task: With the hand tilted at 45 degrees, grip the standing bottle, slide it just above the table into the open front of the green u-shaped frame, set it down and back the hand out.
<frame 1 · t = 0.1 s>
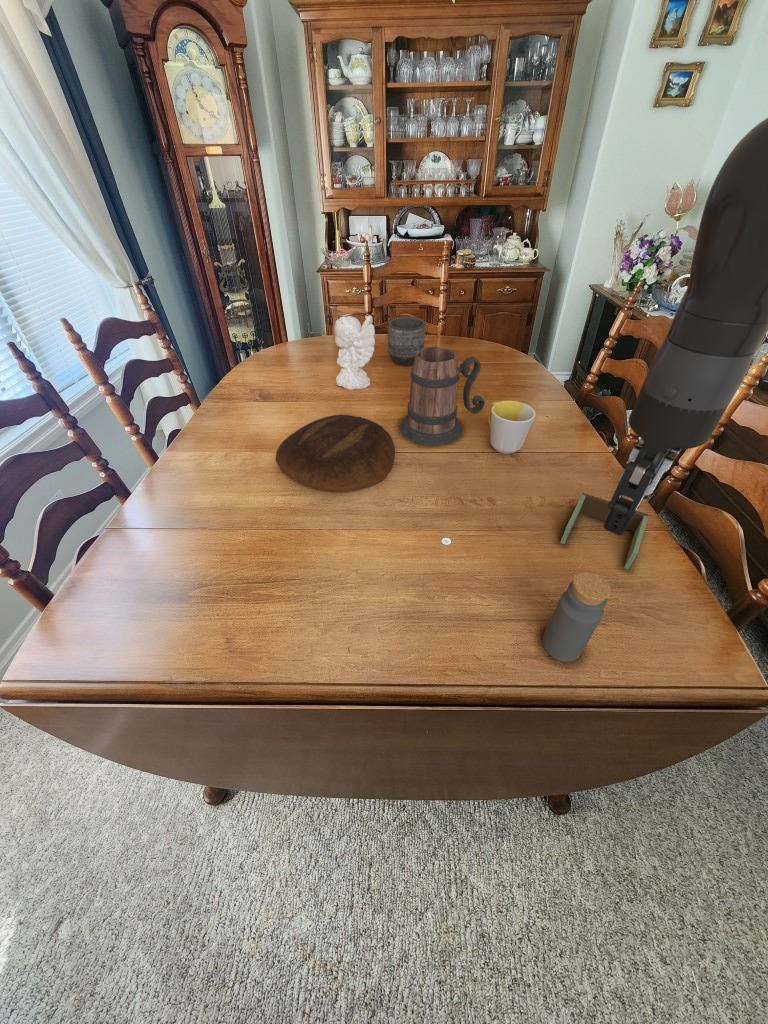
hand: (625, 512, 52), 25 cm above the table, tool pointing down, fingers open, 8 cm apart
bread: (338, 461, 104), on the table
green u-shaped frame: (600, 538, 84), on the table
mug: (502, 444, 109), on the table
bottle: (561, 645, 67), on the table
planter: (405, 361, 148), on the table
cherub figurine: (355, 381, 137), on the table
tankard: (441, 426, 116), on the table
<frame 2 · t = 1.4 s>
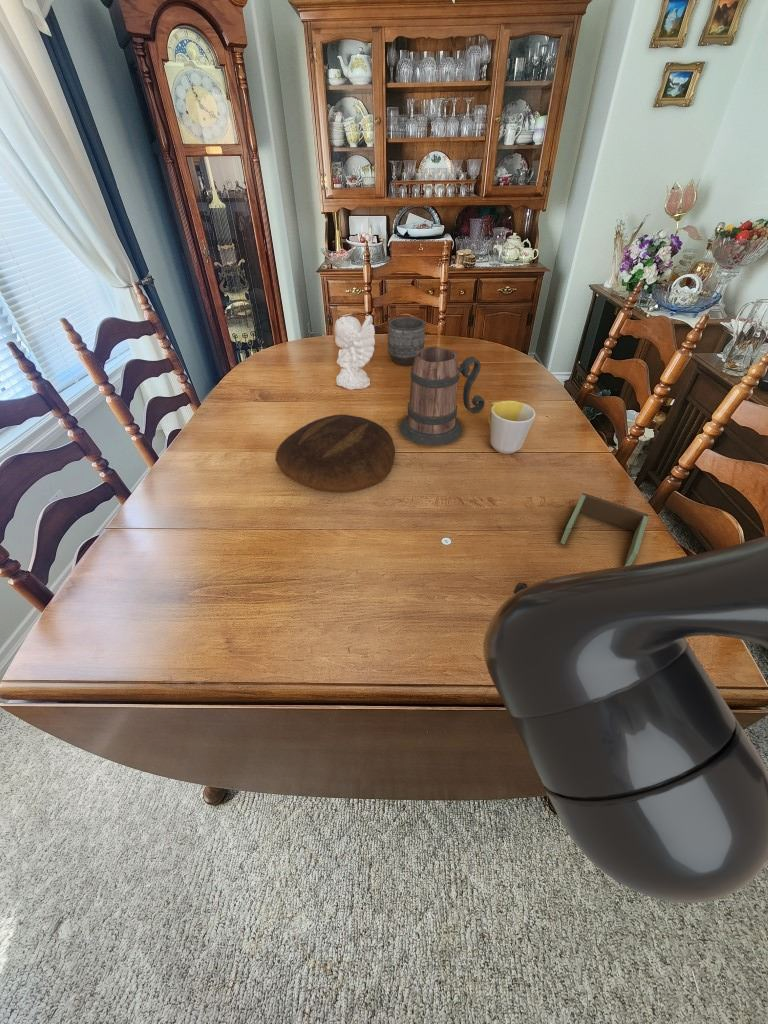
hand: (583, 620, 46), 21 cm above the table, tool tilted 45°, fingers open, 8 cm apart
nothing on the table moved.
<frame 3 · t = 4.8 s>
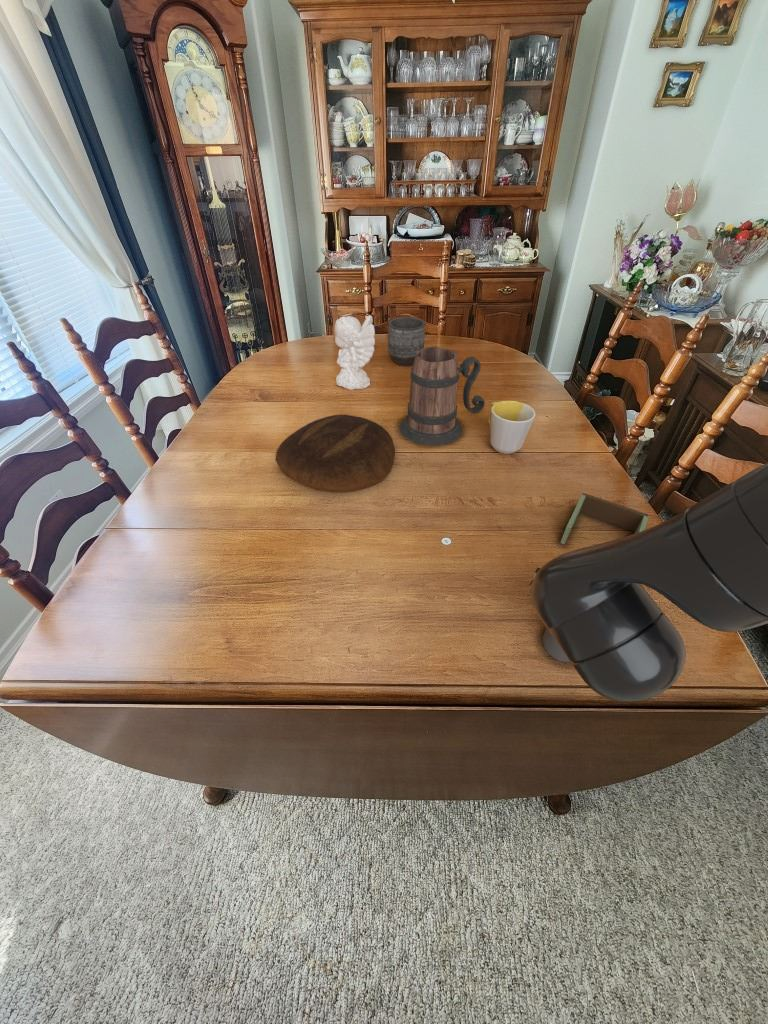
hand: (585, 595, 61), 11 cm above the table, tool tilted 45°, fingers closed on bottle, 5 cm apart
bottle: (561, 645, 67), on the table, touching gripper
everything else where it was.
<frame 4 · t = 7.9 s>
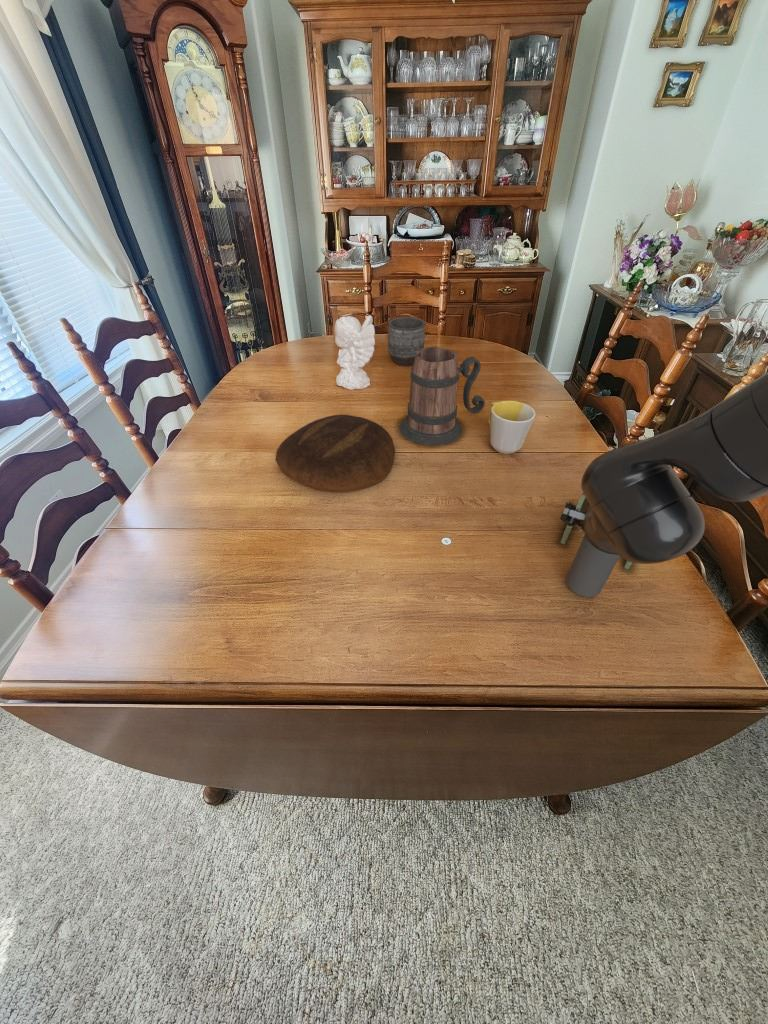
hand: (606, 533, 68), 12 cm above the table, tool tilted 45°, fingers closed on bottle, 5 cm apart
bottle: (583, 584, 74), point 1 cm above the table, touching gripper
everything else where it was.
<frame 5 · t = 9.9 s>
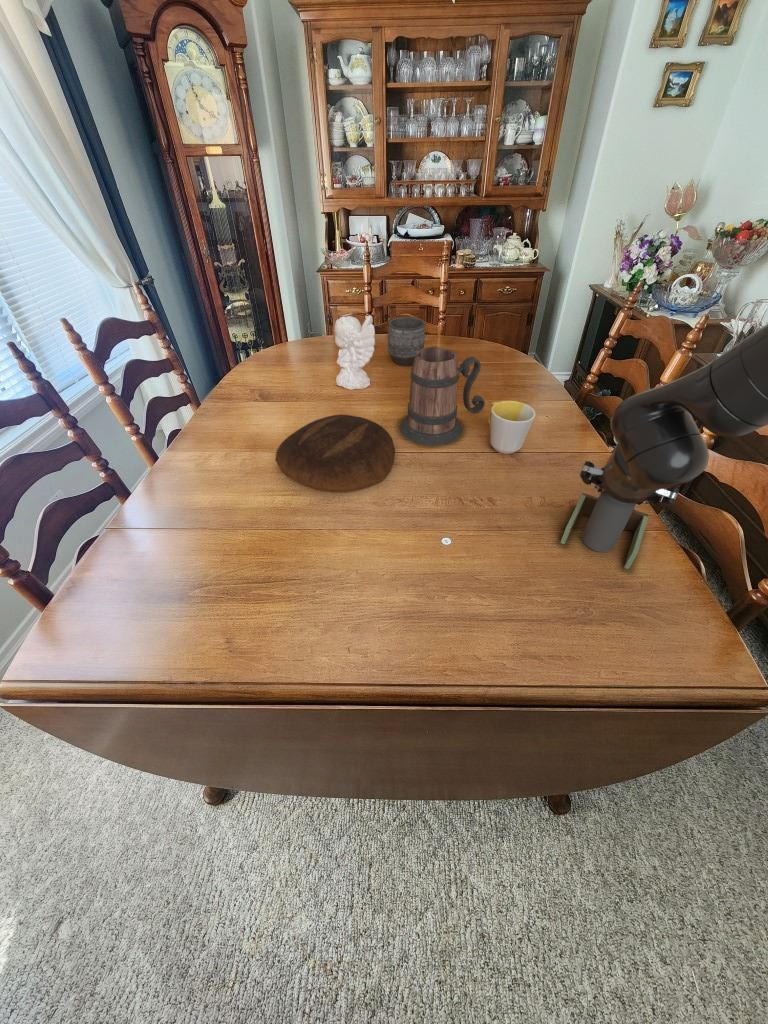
hand: (620, 492, 75), 12 cm above the table, tool tilted 45°, fingers closed on bottle, 5 cm apart
bottle: (597, 541, 82), point 1 cm above the table, touching gripper
everything else where it was.
when the fingers open (11 cm above the table, at t = 11.1 s): bottle stays where it is, on the table.
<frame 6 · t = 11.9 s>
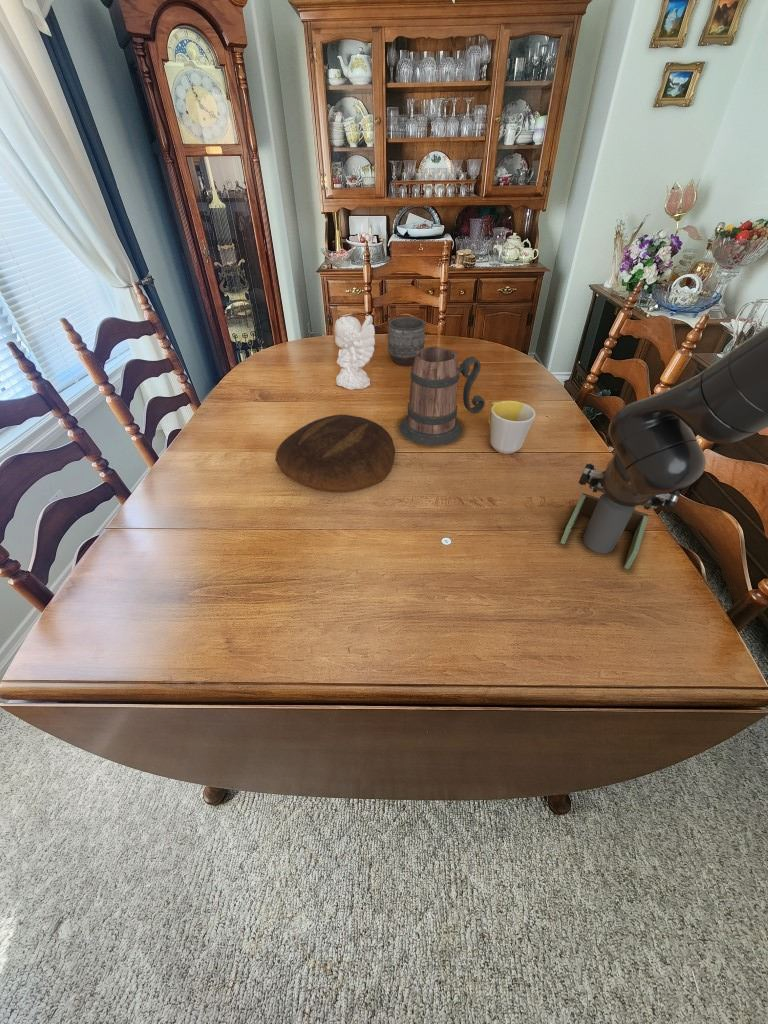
hand: (621, 495, 76), 11 cm above the table, tool tilted 45°, fingers open, 8 cm apart
bottle: (598, 543, 83), on the table
everything else where it was.
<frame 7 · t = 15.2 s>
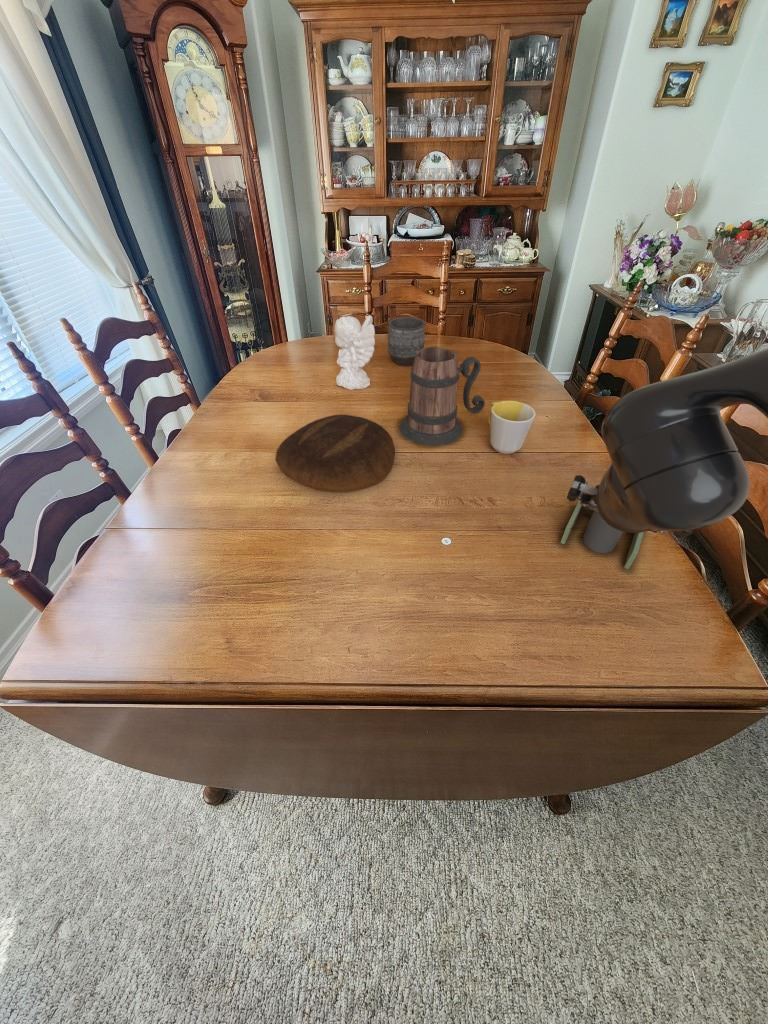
hand: (621, 513, 60), 20 cm above the table, tool tilted 45°, fingers open, 8 cm apart
nothing on the table moved.
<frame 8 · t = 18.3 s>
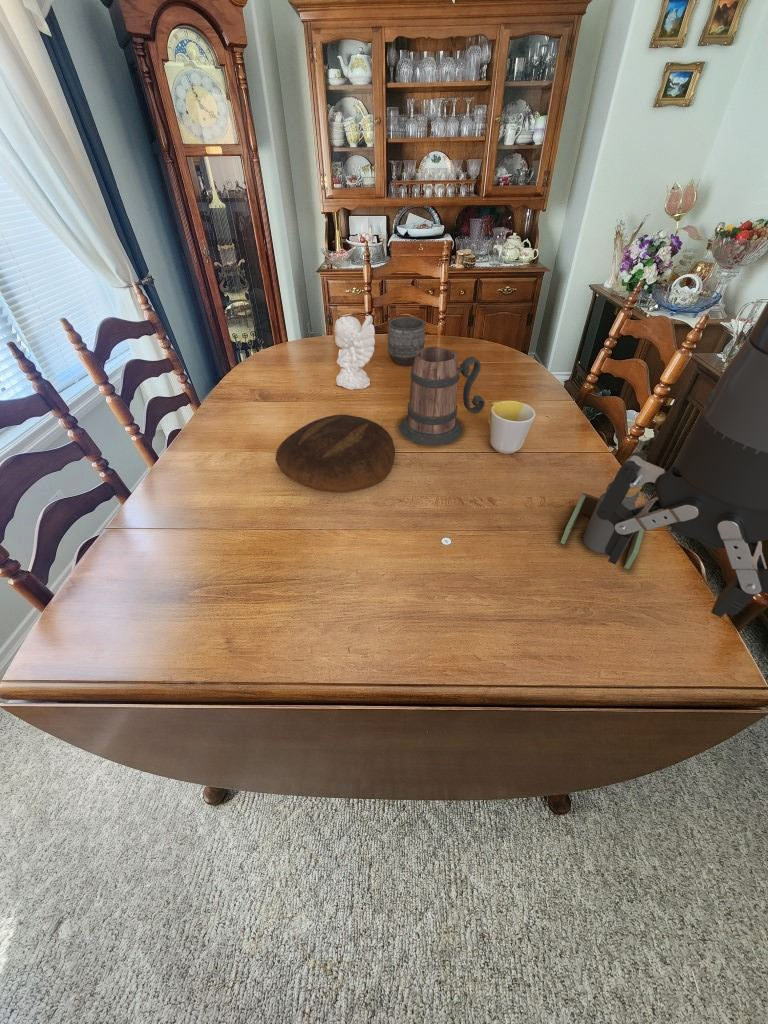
hand: (663, 582, 38), 30 cm above the table, tool pointing down, fingers open, 8 cm apart
nothing on the table moved.
at the end: bottle inside the target area on the green u-shaped frame (1.4 cm from its centre), point 0.0 cm above the green u-shaped frame's base; bottle tilted 0°; the gripper is holding nothing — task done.
